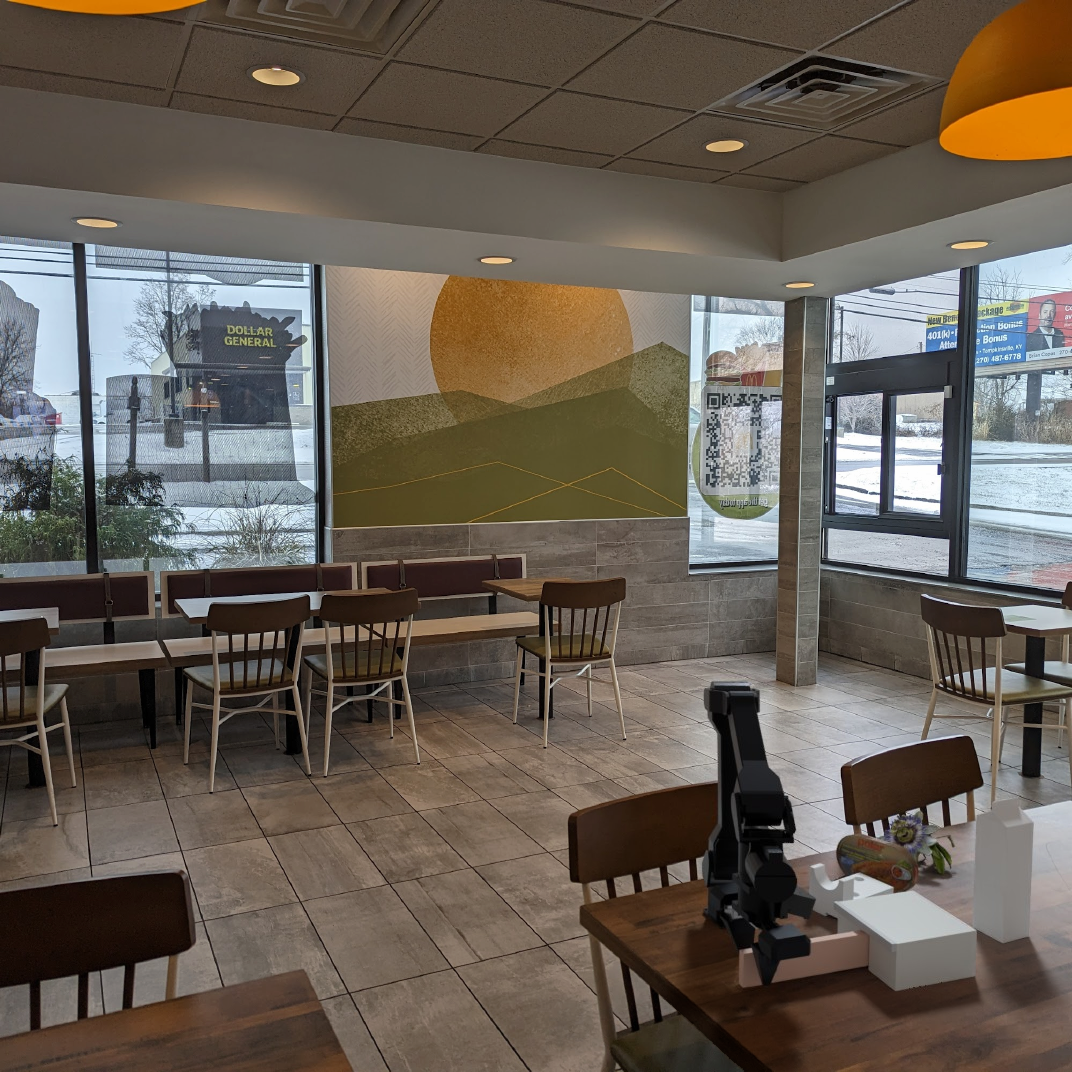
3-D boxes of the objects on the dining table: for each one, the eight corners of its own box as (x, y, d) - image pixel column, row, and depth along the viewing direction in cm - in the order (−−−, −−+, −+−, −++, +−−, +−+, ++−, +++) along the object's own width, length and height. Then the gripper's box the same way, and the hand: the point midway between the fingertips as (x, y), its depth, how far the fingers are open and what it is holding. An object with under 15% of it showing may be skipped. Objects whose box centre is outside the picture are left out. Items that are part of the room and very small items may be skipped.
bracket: (842, 926, 157) (843, 881, 157) (808, 909, 163) (810, 866, 163) (892, 907, 164) (894, 864, 164) (859, 891, 170) (860, 850, 170)
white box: (890, 992, 137) (892, 944, 137) (832, 945, 150) (833, 901, 150) (975, 976, 141) (976, 929, 141) (911, 932, 155) (913, 889, 154)
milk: (1029, 937, 154) (1036, 803, 152) (1002, 944, 151) (1008, 808, 150) (997, 920, 159) (1003, 791, 158) (970, 927, 157) (976, 795, 155)
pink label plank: (743, 987, 137) (743, 954, 137) (738, 983, 138) (739, 949, 138) (873, 964, 144) (874, 932, 143) (868, 960, 145) (869, 928, 144)
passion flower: (899, 895, 181) (862, 836, 184) (927, 869, 188) (891, 813, 191) (945, 880, 173) (905, 819, 176) (973, 854, 179) (934, 796, 183)
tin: (834, 873, 177) (835, 829, 177) (843, 869, 179) (845, 825, 179) (911, 901, 166) (912, 854, 165) (920, 896, 168) (921, 850, 167)
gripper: (846, 891, 131) (843, 1001, 132) (773, 840, 149) (771, 938, 150) (774, 902, 127) (771, 1014, 129) (708, 849, 145) (707, 948, 146)
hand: (756, 976), depth 138 cm, fingers open, 5 cm apart
